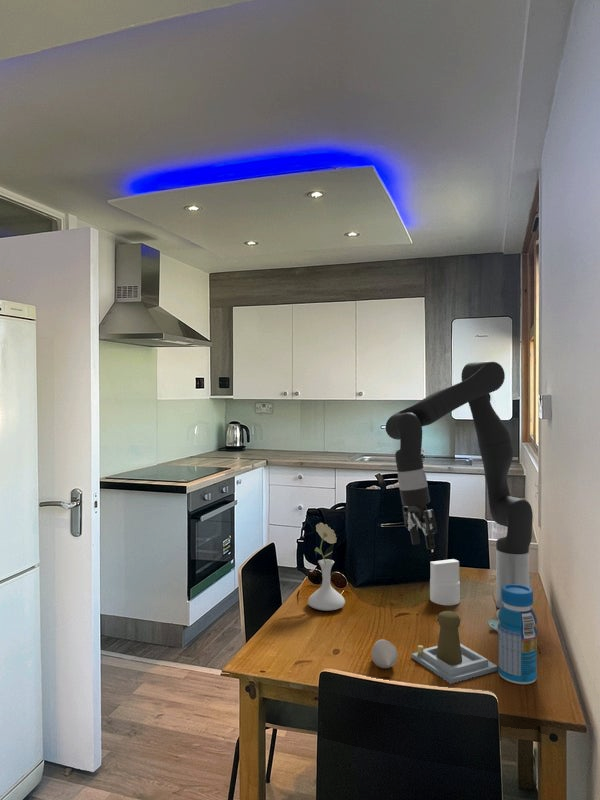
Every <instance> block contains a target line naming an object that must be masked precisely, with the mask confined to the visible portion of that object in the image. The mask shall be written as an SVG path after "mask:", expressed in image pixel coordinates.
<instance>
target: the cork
mask: <svg viewBox="0 0 600 800" xmlns="http://www.w3.org/2000/svg"><path fill="white" fill-rule="evenodd" d="M437 623H438V625H439V631H438V632H439V634H438V641H437V646H438V647H437V655H436V657H437V658H439V659H440V660H442V661H443V662H445V663H446V664H448V665H457V664H460V663H461V662H462V654H461V647H460V644H461V640H460V633H459V632H460V631H459V627H460V625H461V617H460V615H459V614H458V613H457V612H454V611H452V610H444V611H441V612H439V614H438V616H437Z"/></svg>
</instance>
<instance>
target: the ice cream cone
mask: <svg viewBox="0 0 600 800" xmlns="http://www.w3.org/2000/svg"><path fill="white" fill-rule="evenodd" d="M398 656H399V655H398V650H397V648H396V647H395V645H394V644H393V643H392V642H390V641H388V640H387V639H379V640H376V642H374V645H373V647H372V650H371V659H372V661H373V663H374V665H376V666H377V668H378V667H379V668H381V669H389V668H392V667H393V666H394V665H396V663H397V660H398Z"/></svg>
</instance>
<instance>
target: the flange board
mask: <svg viewBox="0 0 600 800" xmlns="http://www.w3.org/2000/svg"><path fill="white" fill-rule="evenodd" d="M437 647H438V645H434V646H431V647H426V648H424V646H423V645H421V644H419V645H417V652H416V651H415V652H413V653H411V659H413V660H415V661H416V662H418V663H419V664H420V665H422V666H424V667H425V668H426V669H428V670H429V669H430V670H429V671H431V672H432V671H433V672H432V673H433V674H435V675H436V676H437V677H439V676H440V678H441V677H442V678H443V679H442V678H441V679H442V680H443V681H445V680H446V681H445V682H447V683H448V682H449V683H448V684H450V685H452V683H453V684H455V682H456V683H460V682H463V681H466V680H469V678H470V679H473V678H476V677H481V676H483V675H487V674H490V673H493V672H498V665H497V664H495V663H494V662H491V661H490V660H489V659H488V658H486V657H484V656H483V655H481V654H479V653H477V652H476V651H474V650H472V649H471V648H469V647H467V646H465V645H464V644H462V643H460V647H461V654H462V662H461V663H460V664H457V665H448V664H446V663H445V662H443V661H442V660H440V659H439V658H437V657H436V655H437ZM472 677H473V678H472ZM462 680H463V681H462ZM459 681H460V682H459Z"/></svg>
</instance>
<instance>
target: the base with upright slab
mask: <svg viewBox="0 0 600 800" xmlns="http://www.w3.org/2000/svg"><path fill="white" fill-rule="evenodd" d="M429 563H430V565H429V566H430V575H429V576H430V579H429V599H430V601H431V602H432V603H434V604H437V605H440V606H454V605H455V606H456V605H457V604H460V602H461V597H460V596H461V589H460V588H461V582H460V561H459V560H457V559H455V558H451V559H443V560H435V561H430V562H429Z"/></svg>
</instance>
